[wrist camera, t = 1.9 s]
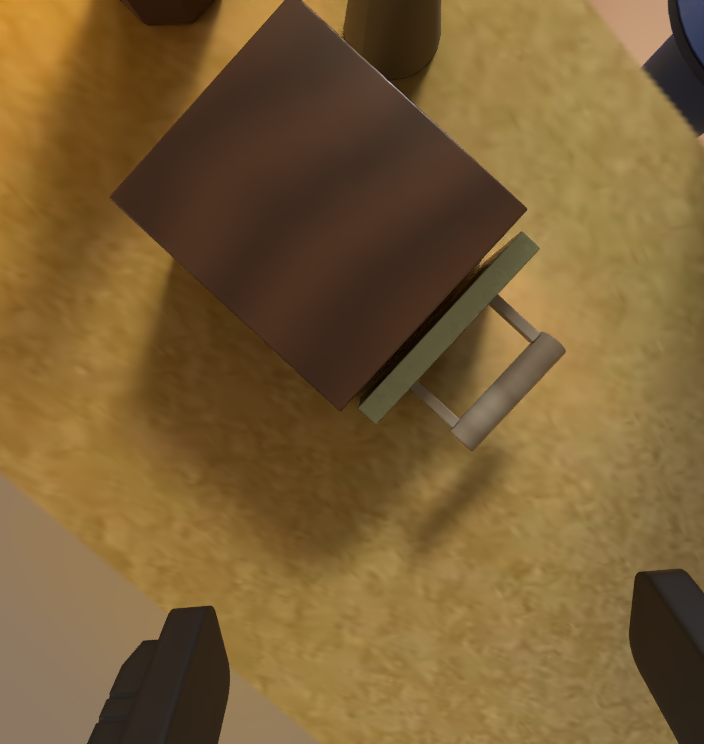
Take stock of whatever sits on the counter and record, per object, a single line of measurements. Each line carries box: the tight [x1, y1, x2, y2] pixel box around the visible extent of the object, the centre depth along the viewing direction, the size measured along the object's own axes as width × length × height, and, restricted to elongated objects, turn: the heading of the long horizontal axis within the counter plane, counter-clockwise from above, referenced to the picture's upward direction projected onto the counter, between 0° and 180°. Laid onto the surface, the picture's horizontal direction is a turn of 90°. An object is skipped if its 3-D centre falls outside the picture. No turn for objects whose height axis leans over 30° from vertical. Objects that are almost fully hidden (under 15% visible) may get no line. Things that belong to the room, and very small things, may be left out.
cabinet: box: [109, 0, 527, 411], centre depth 30 cm, size 15×13×10 cm
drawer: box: [358, 232, 566, 451], centre depth 30 cm, size 18×11×8 cm, turn 47°
